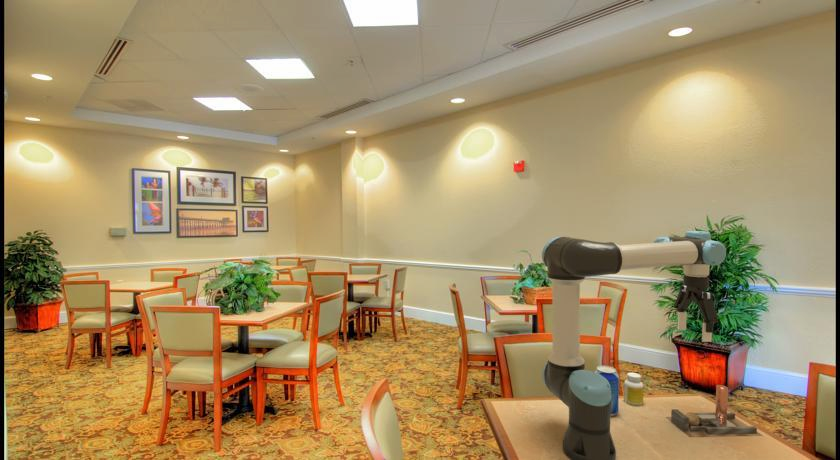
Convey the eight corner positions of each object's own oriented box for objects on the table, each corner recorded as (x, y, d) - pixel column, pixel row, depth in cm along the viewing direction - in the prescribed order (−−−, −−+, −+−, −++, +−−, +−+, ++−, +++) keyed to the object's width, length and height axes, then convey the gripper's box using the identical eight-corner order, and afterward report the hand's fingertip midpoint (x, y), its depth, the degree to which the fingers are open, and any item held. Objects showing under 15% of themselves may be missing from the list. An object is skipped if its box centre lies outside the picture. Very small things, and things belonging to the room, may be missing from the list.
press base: (689, 440, 135) (690, 423, 135) (664, 420, 148) (665, 404, 148) (762, 439, 136) (763, 422, 136) (732, 418, 149) (732, 403, 149)
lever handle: (706, 431, 138) (707, 391, 138) (691, 420, 146) (692, 382, 145) (737, 430, 139) (739, 391, 138) (721, 419, 146) (723, 382, 145)
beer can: (594, 415, 152) (595, 372, 151) (592, 405, 160) (592, 363, 159) (619, 419, 149) (621, 374, 148) (616, 408, 157) (617, 366, 156)
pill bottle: (645, 410, 156) (646, 379, 155) (626, 408, 157) (627, 377, 157) (640, 402, 162) (640, 372, 162) (621, 400, 164) (622, 371, 163)
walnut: (689, 429, 140) (689, 416, 139) (680, 422, 144) (681, 410, 144) (702, 429, 140) (702, 416, 140) (693, 422, 144) (693, 410, 144)
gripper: (733, 281, 135) (730, 347, 136) (684, 270, 160) (682, 325, 161) (709, 281, 135) (706, 346, 136) (664, 269, 160) (662, 325, 161)
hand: (693, 335), depth 149 cm, fingers open, 13 cm apart
